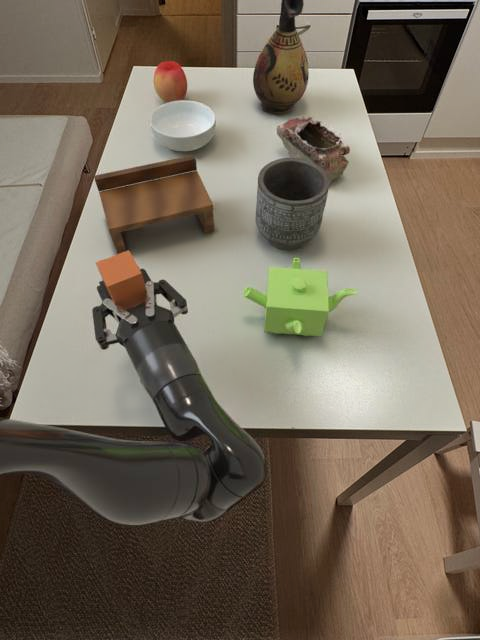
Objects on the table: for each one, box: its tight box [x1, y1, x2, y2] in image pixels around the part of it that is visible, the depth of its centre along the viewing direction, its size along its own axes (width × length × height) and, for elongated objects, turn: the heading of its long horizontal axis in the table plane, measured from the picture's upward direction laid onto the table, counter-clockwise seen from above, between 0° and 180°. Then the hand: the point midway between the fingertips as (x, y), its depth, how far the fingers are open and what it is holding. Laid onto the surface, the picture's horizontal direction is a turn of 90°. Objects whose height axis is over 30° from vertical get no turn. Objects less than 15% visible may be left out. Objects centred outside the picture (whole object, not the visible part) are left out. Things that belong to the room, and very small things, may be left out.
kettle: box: [242, 257, 358, 337], centre depth 76 cm, size 15×14×11 cm
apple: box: [153, 60, 188, 104], centre depth 119 cm, size 10×10×10 cm
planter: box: [255, 157, 331, 251], centre depth 87 cm, size 14×14×15 cm
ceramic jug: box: [252, 0, 310, 116], centre depth 110 cm, size 17×15×30 cm
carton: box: [95, 249, 147, 310], centre depth 63 cm, size 5×5×12 cm
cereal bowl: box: [149, 99, 217, 152], centre depth 109 cm, size 17×17×7 cm
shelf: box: [93, 154, 215, 255], centre depth 90 cm, size 22×14×11 cm, turn 110°
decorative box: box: [276, 115, 351, 183], centre depth 103 cm, size 13×20×10 cm, turn 28°
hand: (119, 277), depth 63 cm, fingers closed on carton, 5 cm apart
